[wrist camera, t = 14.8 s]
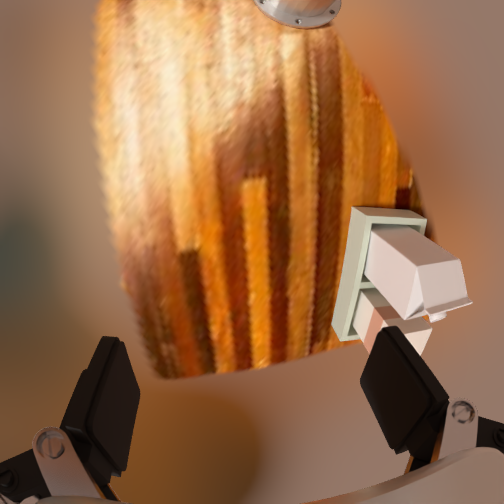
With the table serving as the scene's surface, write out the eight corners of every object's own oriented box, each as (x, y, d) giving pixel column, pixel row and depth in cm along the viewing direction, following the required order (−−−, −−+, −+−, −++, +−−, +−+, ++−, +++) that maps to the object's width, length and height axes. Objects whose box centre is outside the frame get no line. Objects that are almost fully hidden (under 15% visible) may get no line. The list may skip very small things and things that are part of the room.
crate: (352, 206, 40) (366, 215, 35) (410, 210, 41) (427, 219, 36) (331, 324, 48) (340, 341, 43) (383, 318, 49) (394, 333, 45)
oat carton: (354, 282, 44) (395, 335, 31) (387, 280, 45) (432, 328, 32) (346, 315, 47) (380, 372, 34) (378, 312, 47) (416, 363, 34)
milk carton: (359, 221, 40) (438, 284, 22) (397, 219, 40) (481, 274, 23) (355, 265, 43) (420, 342, 25) (392, 260, 43) (463, 327, 26)
